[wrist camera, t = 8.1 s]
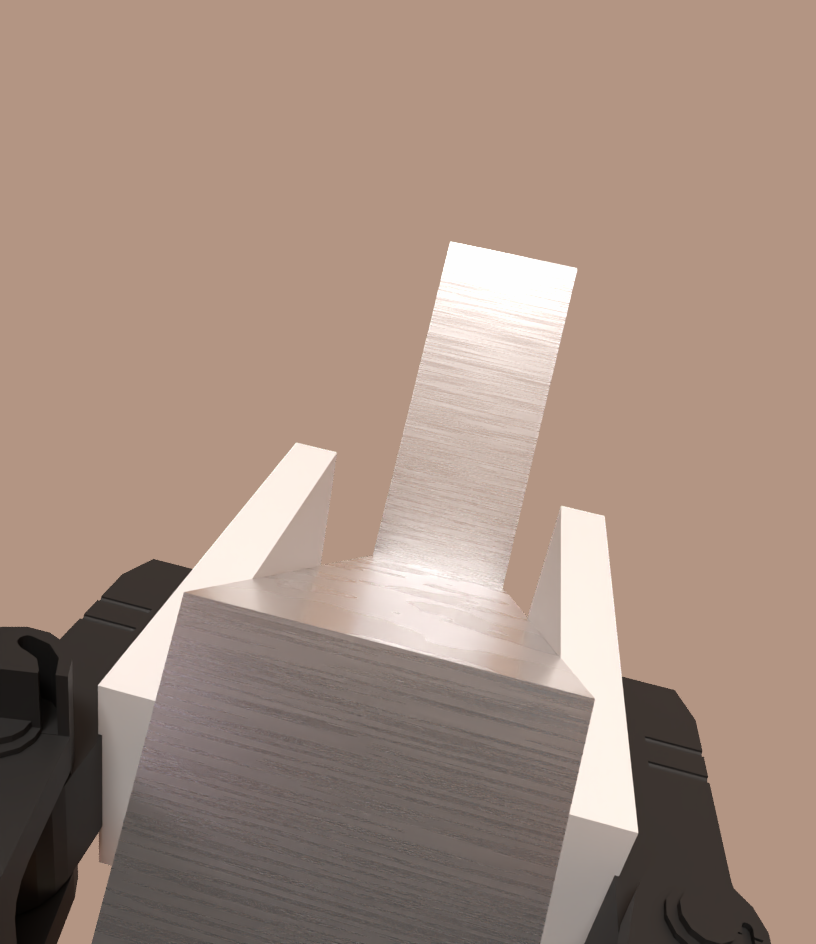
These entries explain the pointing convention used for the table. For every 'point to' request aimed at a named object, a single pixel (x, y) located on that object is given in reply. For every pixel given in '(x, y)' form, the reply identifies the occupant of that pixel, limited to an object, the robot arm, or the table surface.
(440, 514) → the stepped metal block
